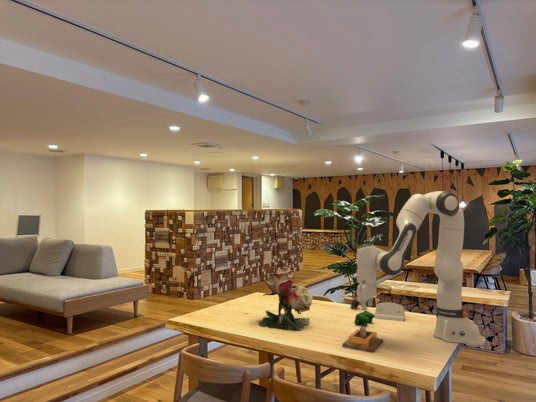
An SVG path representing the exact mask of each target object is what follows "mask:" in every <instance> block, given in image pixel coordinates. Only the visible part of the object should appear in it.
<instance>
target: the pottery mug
mask: <svg viewBox="0 0 536 402" xmlns="http://www.w3.org/2000/svg"><path fill="white" fill-rule="evenodd" d="M359 305H361V302H358V301H357V297H355V298H354V299H353V300H352V301H351V304H350V308H351V309H352V310H353V309H358V307H359ZM366 306H367V307H368V301H366Z"/></svg>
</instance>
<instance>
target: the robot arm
mask: <svg viewBox="0 0 536 402" xmlns="http://www.w3.org/2000/svg"><path fill="white" fill-rule="evenodd" d="M428 214H434V215H438V216H439V220H440V221H439V228H438V230H439V231H438V243H437V249H436V253H435V260H434V266H433V267H434V268H433V272H434V274H435V275H436V277H437V279H438V281H437V289H436V306H435V318H436V320H435V321H436V323H435V329H434V332H433V335H434V336H435V338H438V339H441V340H443V341H444V342H447V343H455V344H465V345H466V344H468V345H476V346H481V345H484V344H485V343H486V337H485V336H484V335H481V332H480V329H479V326H478V325H477V324H476V323H475V322H473V321H472V320H471V319H470V318H468V316H467V315H468V313H467V310H466V309H464V308H463V306H462V302H463V301H462V295H463V294H462V292H463V291H462V290H463V278H464V276H463V275H464V263H463V262H462V260H461V258H462V254H463V253H462V252H463V247H464V239H465V238H464V236H465V218H464V217H465V215H464V211H463V209H462V208H460V201H459V198H458V197H457V195H456V194H455V193H453V192H451V191H442V190H439V191H438V190H435V191H428V192H424V193H422V194H421V193H415V194H413V195H411V196H410V198H408V200H407V201H406V202H405V203H404V205H403V207H402V208H401V210H400V212H398V214H397V218H396V221H395V223H396V227H397V228H398V231H399V234H398V237H397V239H396V240H395V242H394V244H393V246H392V248H391V249H390V251H387V250H383V249H381V248H379V247H377V246H375V245H374V244H371V243H368V244H367V243H366V244H361V245H359V246H358V248H357V250H356V265H357V269H356V282H357V284H358V285H357V289H356V298H357V301H358V302H361V303H360V305H361V311H362V312H364V311H367V308H368V307H372V306H373V301H374V297H375V296H376V295H377V289H378V287H377V286H378V280H379V277H378V275H377V271H380V272H382V273H384V274H386V275H388V276H396V275H398V274H399V273H401V271H403V268H404V263H405V258H406V255H407V253H408V251H409V249H410V248H411V245H412V243H413V241H414V239H415V237H416V234H417V233H418V230H419V228H420V227H421V225H422V223H423V221H424V220H425V217H426V216H427V215H428ZM366 302H367V306H366Z"/></svg>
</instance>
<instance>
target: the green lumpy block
mask: <svg viewBox="0 0 536 402" xmlns="http://www.w3.org/2000/svg"><path fill="white" fill-rule="evenodd" d="M373 319H375V313H372V312H370V311H367V310H366V311H362V312H359V313H357V314H356V315H355V317H354V321H353V322H354V325H356V326H360V325H362V326H363V325H364V327H368V325H369V324H370V325H372V323H373Z"/></svg>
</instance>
